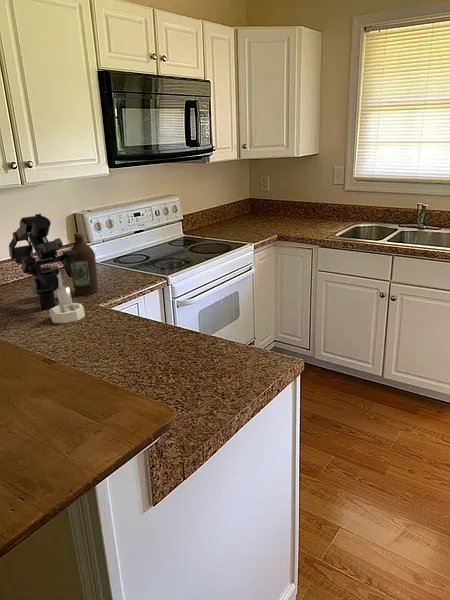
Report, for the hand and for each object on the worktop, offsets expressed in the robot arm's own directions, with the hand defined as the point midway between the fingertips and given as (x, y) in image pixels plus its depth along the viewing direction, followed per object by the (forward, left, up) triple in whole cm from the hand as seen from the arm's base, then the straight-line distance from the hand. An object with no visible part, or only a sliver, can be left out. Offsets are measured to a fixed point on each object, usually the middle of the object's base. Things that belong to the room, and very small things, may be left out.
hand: (58, 280), depth 170 cm
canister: (+3, 0, -12) cm, 13 cm away
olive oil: (-24, +13, -13) cm, 31 cm away
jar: (-28, 0, -13) cm, 31 cm away
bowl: (+4, 0, -13) cm, 14 cm away
